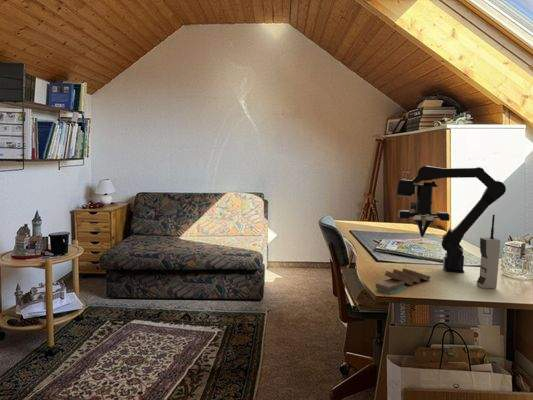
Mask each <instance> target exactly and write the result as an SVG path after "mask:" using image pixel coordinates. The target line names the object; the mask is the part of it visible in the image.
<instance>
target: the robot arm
mask: <svg viewBox="0 0 533 400" xmlns="http://www.w3.org/2000/svg"><path fill="white" fill-rule="evenodd" d="M445 178H446V179H447V178H448V179H450V178H451V179H456V178H457V179H459V178H461V179H462V178H473V179H474V178H476V179H477V180H479V181H480V182H481V183H482V184H483V185H484V186H485V187H486V188H485V190H484V191H483V192H482V196H481V197H480V199H479V200H478V201H477V202H476V203H475V205H474V206H473V207H472V208H471V210H470V211H469V212H468V213H467V214H466V216H465V217H463V219H462V220H461V221H460V222H459V224H458V225H457V226H455V228H453V229H452V228H448V230H447V231H446V233H444V234H443V235H442V237H441V239H442V240H441V248H442V249H443V250H444V251H445V253H444V256H443V257H442V258H443V261H442V268H443V269H444V271H446V272H450V273H451V272H453V273H465V270H464V263H465V255H464V247H463V246H462V245H460V243H461V241H462V240H463V238H464V237H465V235H466V234H467V232H468V231H469V230H470V229H471V228H472V226H473V225H474V224H475V223H476V221H477V220H478V219H479V218H480V217H481V215H482V214H483V213H484V212H485V211H486V210H487V208H488V207H489V206H491V205H492V204H493V203H495V202H496V201H498V199H500V198H501V197H503V196H504V195H505V194H506V191H507V187H506V185H505V184H504V182H502V181H500V180H495V179H494V177H492V176H491V175H490V174H488V173H487V172H486V171H485V169H484V168H482V167H480V166H478V167H459V168H458V167H456V168H453V167H452V168H450V167H449V168H448V167H447V168H446V167H445V168H443V167H436V166H430V165H424V166H421V167H420V168H419V169H418V170H417V175H416V176H415V177H414V178H413V180H412V179H411V180H410V179H409V180H408V179H403V178H401V179H398V184H397V189H396V193H397V195H396V196H397V197H407V198H413V196H414V195H416V202H415V201H410V202H409V210H408V209H407V210H405V209H399V210H398V212H397V217H398V218H399V219H404V220H405V219H407V220H408V219H410V218H412V221H413V222H416V225H417V228H418V232H419V235H420V237H421V238H423V237H424V236H425V234H426V232H427V230H428V228H429V227H430V225H431V223H434V222H435V221H434V219H439V220H440V221H445V222H446V221H447V222H449V221H450V218H451V216H450V214H449V213H448V212H447V211H436V212H435V213H434V212H432V205H433V192H434V189H433V188H438V187H439V185H438V183H436V180H438V179H439V180H440V179H445ZM422 181H423V184H419V183H421V182H422ZM429 181H431V182H429ZM422 218H423V219H422Z"/></svg>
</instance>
